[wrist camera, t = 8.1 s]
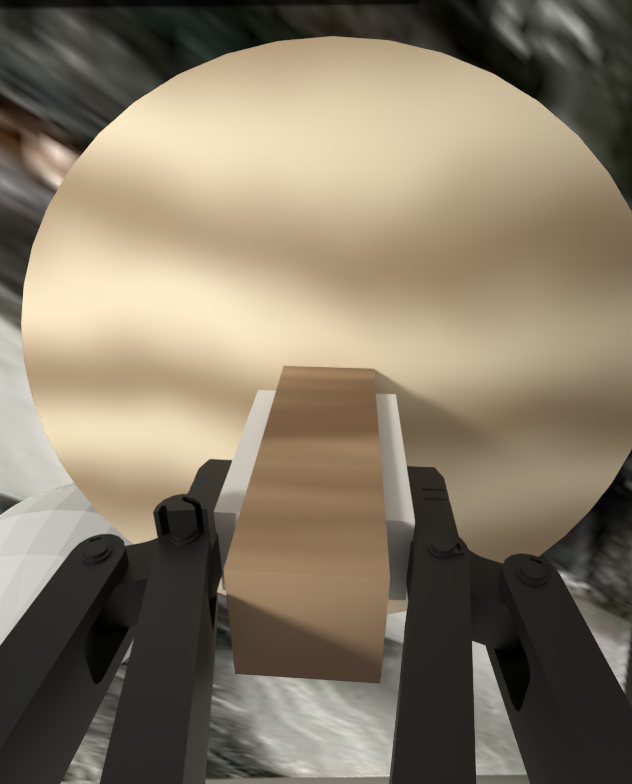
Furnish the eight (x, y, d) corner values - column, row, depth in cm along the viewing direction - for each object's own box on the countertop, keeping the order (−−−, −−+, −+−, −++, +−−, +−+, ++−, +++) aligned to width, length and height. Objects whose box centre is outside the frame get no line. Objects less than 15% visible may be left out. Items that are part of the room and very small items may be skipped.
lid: (-44, 44, 16) (-669, -81, 6) (748, 39, 15) (1541, -131, 5) (101, 583, 27) (-43, 844, 17) (561, 609, 26) (689, 908, 16)
